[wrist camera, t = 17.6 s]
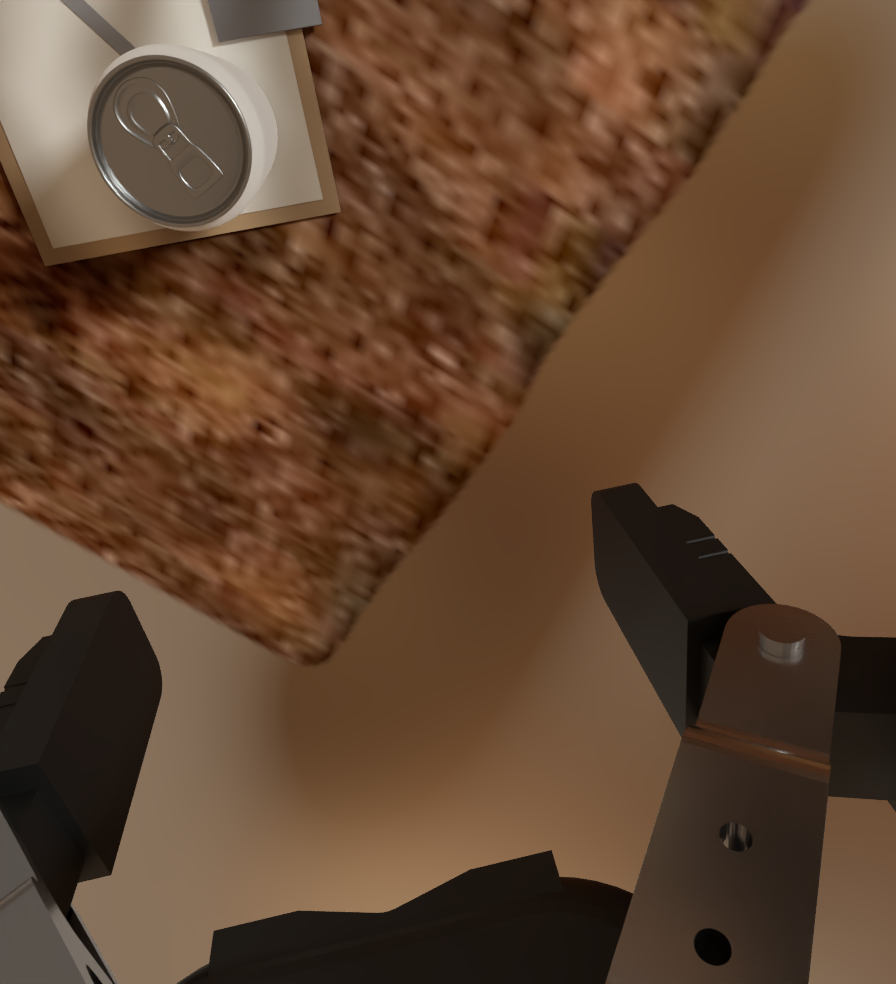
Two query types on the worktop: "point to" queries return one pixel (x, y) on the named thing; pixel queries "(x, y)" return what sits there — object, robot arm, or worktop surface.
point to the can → (181, 135)
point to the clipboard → (69, 85)
